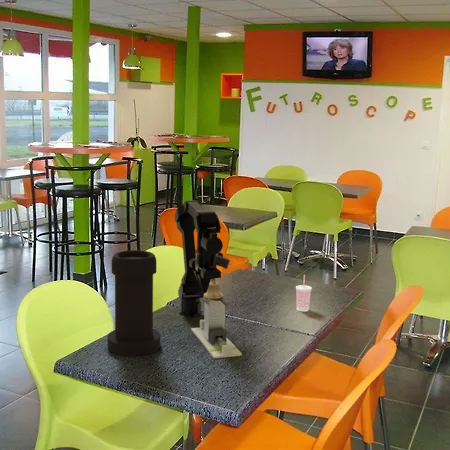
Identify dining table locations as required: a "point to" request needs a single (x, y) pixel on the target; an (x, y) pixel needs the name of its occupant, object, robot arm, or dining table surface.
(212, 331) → the dark grey notched block
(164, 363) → the dining table surface
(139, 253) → the pipe
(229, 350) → the base board
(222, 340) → the steel pipe
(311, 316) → the dining table surface
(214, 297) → the hand bell
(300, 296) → the beverage cup
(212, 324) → the beige tall block
